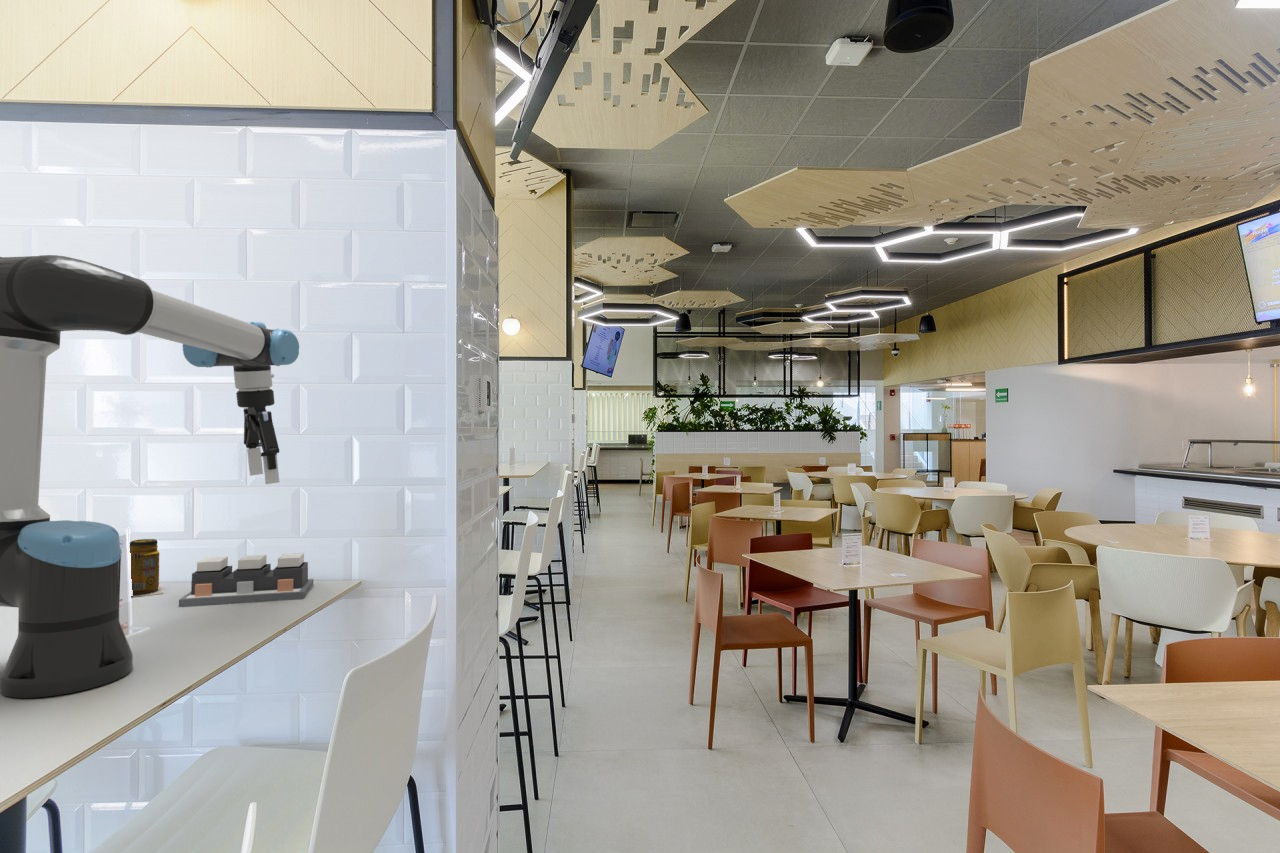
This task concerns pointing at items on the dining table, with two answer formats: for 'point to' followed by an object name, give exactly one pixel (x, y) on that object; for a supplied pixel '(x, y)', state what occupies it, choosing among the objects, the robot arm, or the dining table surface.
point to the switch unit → (248, 585)
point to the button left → (212, 563)
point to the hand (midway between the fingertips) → (264, 478)
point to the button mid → (252, 562)
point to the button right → (291, 560)
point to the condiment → (145, 567)
